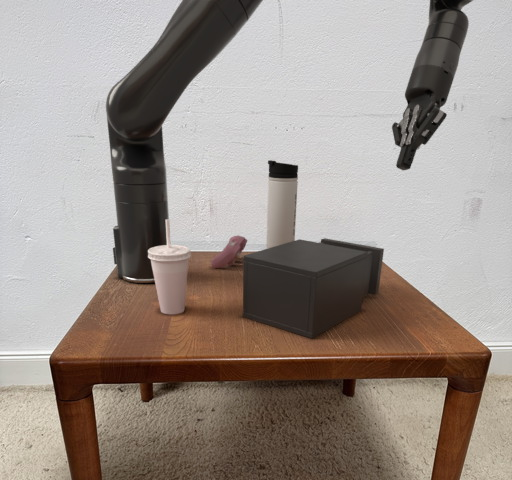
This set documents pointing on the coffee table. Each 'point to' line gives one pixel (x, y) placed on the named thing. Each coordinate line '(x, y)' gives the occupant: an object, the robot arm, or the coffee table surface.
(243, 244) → the pink rounded figure
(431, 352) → the coffee table surface
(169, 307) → the smoothie
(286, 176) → the travel mug
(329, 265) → the dark grey lidded box
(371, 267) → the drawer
